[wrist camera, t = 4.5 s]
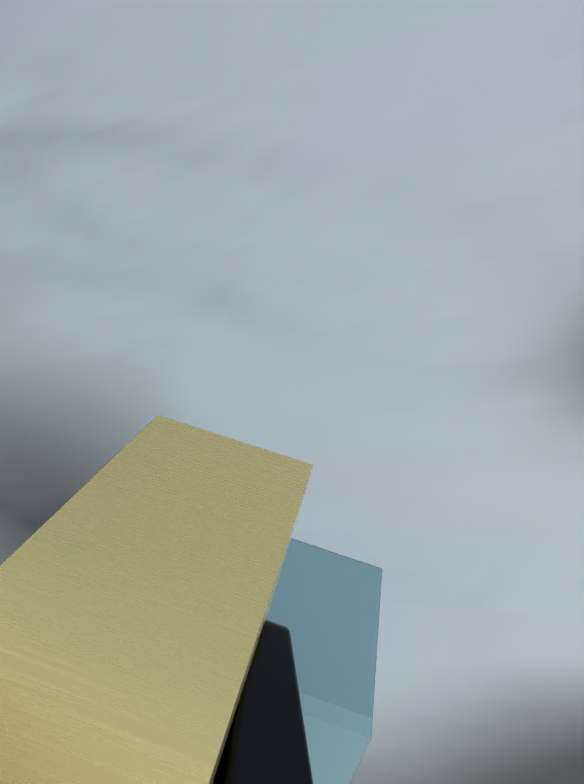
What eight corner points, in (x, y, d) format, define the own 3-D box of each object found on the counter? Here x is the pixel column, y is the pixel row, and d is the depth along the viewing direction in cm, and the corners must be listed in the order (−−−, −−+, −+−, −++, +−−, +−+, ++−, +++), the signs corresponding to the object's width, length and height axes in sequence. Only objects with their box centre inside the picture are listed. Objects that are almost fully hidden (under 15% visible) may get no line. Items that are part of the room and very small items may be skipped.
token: (312, 464, 8) (178, 875, 3) (248, 680, 10) (111, 1112, 5) (157, 415, 8) (-174, 732, 3) (126, 636, 10) (-106, 1014, 5)
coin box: (382, 569, 21) (371, 738, 15) (320, 719, 25) (291, 901, 19) (133, 485, 22) (21, 610, 16) (113, 643, 26) (19, 792, 20)
